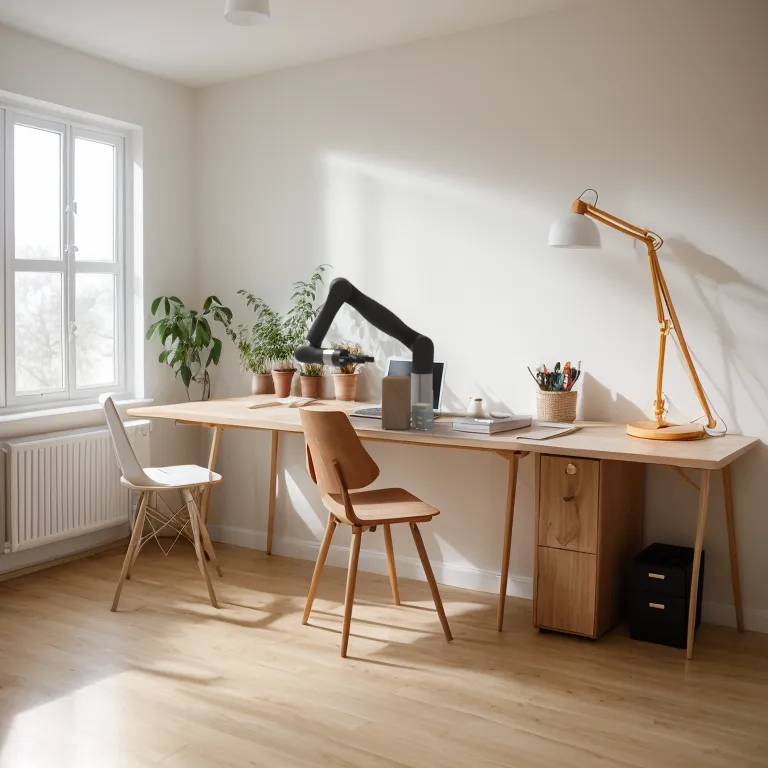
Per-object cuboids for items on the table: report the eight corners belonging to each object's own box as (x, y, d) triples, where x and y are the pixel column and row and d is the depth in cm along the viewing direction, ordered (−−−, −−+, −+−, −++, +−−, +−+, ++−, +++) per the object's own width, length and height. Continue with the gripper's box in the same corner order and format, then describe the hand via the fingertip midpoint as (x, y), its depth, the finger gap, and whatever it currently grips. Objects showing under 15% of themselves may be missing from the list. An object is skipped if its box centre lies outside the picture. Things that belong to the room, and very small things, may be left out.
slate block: (425, 427, 333) (425, 409, 332) (434, 428, 329) (434, 411, 328) (415, 428, 330) (415, 410, 329) (424, 430, 326) (424, 412, 325)
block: (406, 430, 326) (406, 379, 323) (381, 429, 328) (381, 378, 325) (411, 425, 335) (411, 375, 333) (386, 424, 337) (386, 374, 335)
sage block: (417, 422, 343) (418, 402, 342) (431, 423, 340) (432, 404, 339) (411, 424, 337) (411, 405, 336) (425, 426, 335) (426, 406, 334)
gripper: (325, 349, 343) (358, 352, 333) (347, 347, 354) (380, 349, 345) (325, 368, 344) (358, 371, 334) (347, 364, 355) (380, 368, 346)
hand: (369, 360), depth 339 cm, fingers open, 5 cm apart
